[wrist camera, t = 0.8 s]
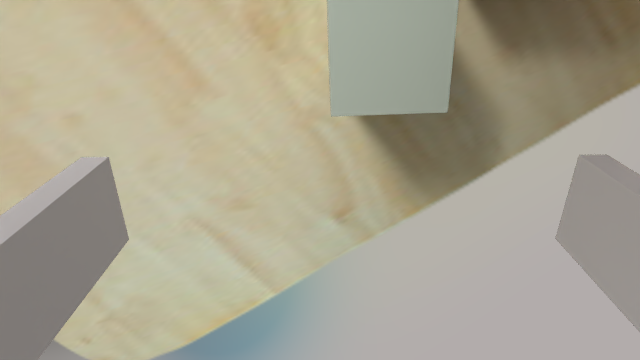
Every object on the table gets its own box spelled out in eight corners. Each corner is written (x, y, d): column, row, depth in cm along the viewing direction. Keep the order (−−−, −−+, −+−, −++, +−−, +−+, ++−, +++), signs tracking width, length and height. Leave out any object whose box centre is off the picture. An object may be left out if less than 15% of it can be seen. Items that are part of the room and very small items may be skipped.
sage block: (326, -15, 28) (327, -11, 19) (416, -18, 28) (460, -17, 19) (329, 75, 31) (331, 116, 22) (410, 72, 30) (447, 112, 21)
